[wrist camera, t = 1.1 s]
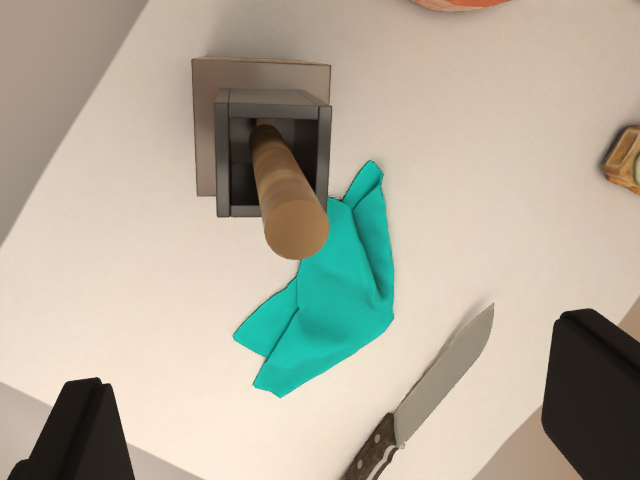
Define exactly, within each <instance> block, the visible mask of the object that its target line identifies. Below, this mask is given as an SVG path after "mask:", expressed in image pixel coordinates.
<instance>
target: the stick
mask: <svg viewBox="0 0 640 480" xmlns="http://www.w3.org/2000/svg"><path fill="white" fill-rule="evenodd" d="M249 145H250V151H251V157H252V163H253V169H254V174H255V180H256V186H257V192H258V198H259V204H260V209H261V215H262V221H263V227H264V233H265V238H266V241H267V243H268V245H269V246H270V248H271V249H272V250H273V251H274V252H275V253H276V254H278V255H279V256H281V257H284V258H287V259H292V260H300V259H305V258H308V257H310V256H312V255H314V254H316V253H317V252H318V251H319V250H320V249H321V248H322V247H323V246H324V244H325V242H326V241H327V238H328V235H329V220H328V217H327V215H326V213H325V211H324V209H323V208H322V206H321V204H320V202H319V201H318V199H317V197H316V195H315V194H314V192H313V190H312V188H311V187H310V185H309V183H308V181H307V179H306V178H305V176H304V174H303V172H302V171H301V169H300V167H299V165H298V164H297V162H296V160H295V158H294V157H293V155H292V153H291V151H290V150H289V148H288V146H287V144H286V142H285V141H284V139H283V137H282V135H281V134H280V132H279V131H278V129H277V128H276V127H275V119H271V118H254V129H253V130H252V132H251V133H250V136H249Z"/></svg>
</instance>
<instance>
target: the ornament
mask: <svg viewBox="0 0 640 480" xmlns="http://www.w3.org/2000/svg"><path fill="white" fill-rule="evenodd" d="M602 168H603V171H604V172H605V173H606V178H607V179H608V180H609V181H610V182H612V183H615V184H617V185H621V186H623V187H627V188H629V189H630V190H631V191H632V192H634V193H636V194H638V195H640V125H638V126H629V127H627V128H626V129H624V130H623V131H622V132H621V134H620V136H619V137H618V139H617V141H616V142H615V144H614V145H613V147H612V149H611V150H610V152H609V153H608V155H607V157H606V158H605V160H604V162H603V164H602Z"/></svg>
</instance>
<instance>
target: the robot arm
mask: <svg viewBox="0 0 640 480" xmlns="http://www.w3.org/2000/svg"><path fill="white" fill-rule="evenodd" d="M541 418H542V419H541V420H542V425H543V428H544V431H545V433H546V434H547V436H548V437H549V438H550V439H551V440H552V442H553V443H554V444H555V445H556V447H557V448H558V449H559V450H560V452H561V453H562V454H563V455H564V456H565V458H566V459H567V460H568V461H569V463H570V464H571V465H572V466H573V468H574V469H575V470H576V471H577V473H578V474H579V475H580V476H581V477H582V479H583V480H640V343H639V342H638V341H637V340H635V339H634V338H632V337H631V336H630V335H628V334H627V333H626V332H624V331H623V330H621V329H620V328H619V327H617V326H616V325H615V324H613V323H612V322H610V321H609V320H608V319H606V318H605V317H604V316H602V315H601V314H599V313H598V312H597V311H595V310H593V309H589V308H587V309H580V310H573V311H566V312H564V313H562V314H561V316H560V319H558V320H556V321H555V323H554V326H553V333H552V341H551V348H550V356H549V363H548V371H547V378H546V386H545V393H544V401H543V408H542V417H541ZM7 480H135V477H134V474H133V469H132V465H131V461H130V457H129V453H128V449H127V445H126V441H125V437H124V433H123V429H122V424H121V420H120V416H119V412H118V408H117V404H116V400H115V396H114V392H113V388H112V386H111V384H109V383H107V384H102V382H101V380H100V378H98V377H95V378H88V379H81V380H74V381H68V382H66V383H65V384H64V386H63V388H62V390H61V392H60V394H59V396H58V398H57V400H56V403H55V405H54V407H53V409H52V411H51V413H50V415H49V417H48V419H47V421H46V423H45V425H44V428H43V430H42V432H41V434H40V436H39V438H38V440H37V442H36V444H35V447H34V448H33V451H32V453H31V455H30V457H29V459H25V460H21V461H19V462H18V463H17V464H16V465H15V467H14V468H13V470H12V471H11V473H10V475H9V477H8V479H7Z"/></svg>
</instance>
